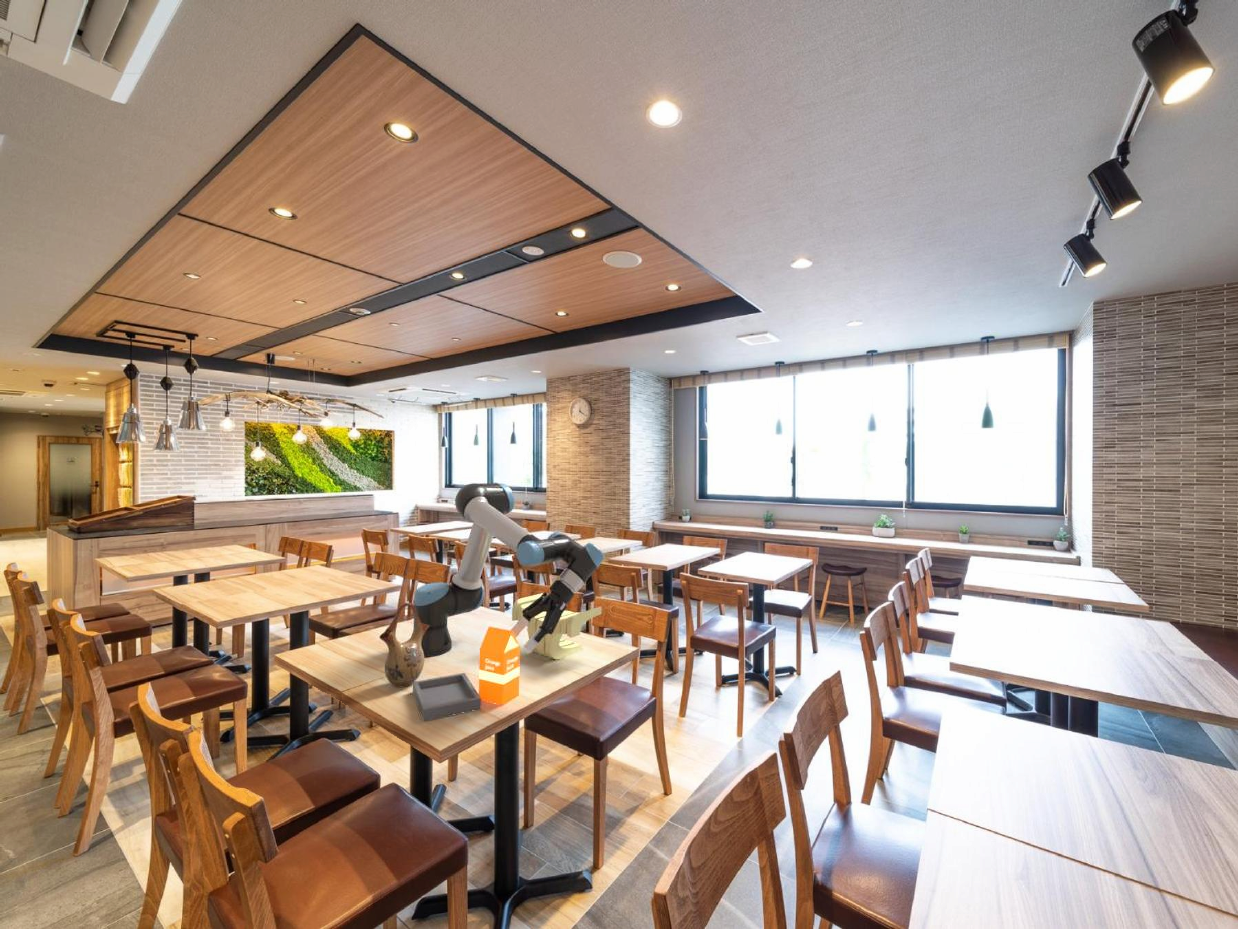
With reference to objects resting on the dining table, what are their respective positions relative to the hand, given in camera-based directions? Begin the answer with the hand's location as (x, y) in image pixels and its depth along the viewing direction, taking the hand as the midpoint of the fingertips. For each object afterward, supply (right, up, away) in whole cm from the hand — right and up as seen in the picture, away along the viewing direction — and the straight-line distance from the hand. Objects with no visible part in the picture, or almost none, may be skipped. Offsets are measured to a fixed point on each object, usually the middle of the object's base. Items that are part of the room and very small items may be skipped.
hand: (518, 642), depth 150 cm
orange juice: (-5, -16, -2) cm, 16 cm away
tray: (-20, -15, -4) cm, 25 cm away
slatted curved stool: (+6, -16, +36) cm, 40 cm away
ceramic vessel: (-36, -15, +6) cm, 40 cm away
